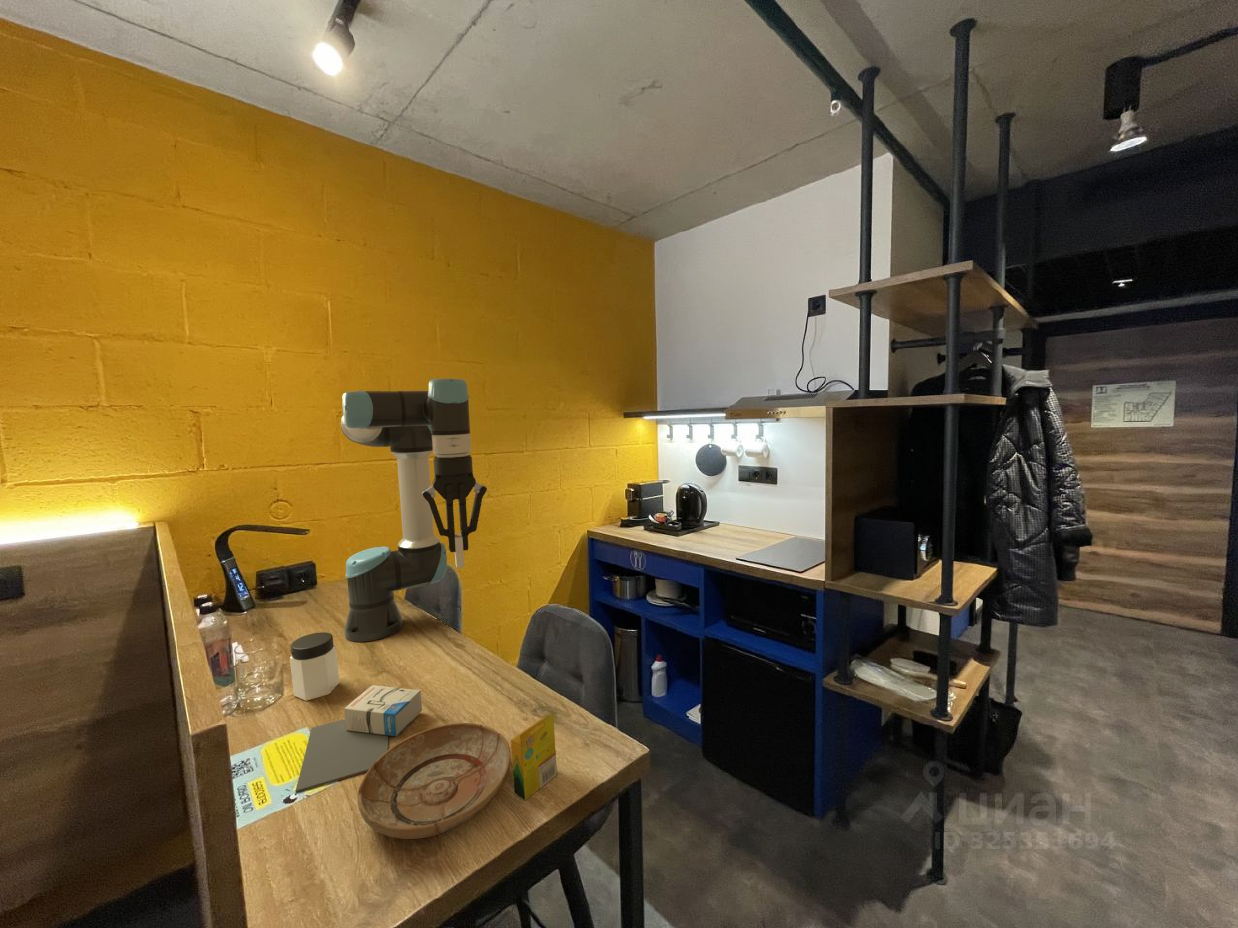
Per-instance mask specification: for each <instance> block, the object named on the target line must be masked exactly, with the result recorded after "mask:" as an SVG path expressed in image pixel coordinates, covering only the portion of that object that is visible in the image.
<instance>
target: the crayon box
mask: <svg viewBox="0 0 1238 928" xmlns="http://www.w3.org/2000/svg"><path fill="white" fill-rule="evenodd" d="M555 737H556V736H555V723H554V713H553V712H552V713H550V714H549V715H547V716H546V717H544V716H543V717H541V718H540V719H538V720H537V721H536V722H534V723H533V724H531V725H530V726H528V727H527V728H526V729H525V730H523V731H520V733H519V734H517V735H516V736H514V737H513V738H512V739H510V745H511V746H510V747H511V748H510V749H511V759H512V760H511V761H512V774H513V775H512V777H513V789H514V794H516V795H517V797H519V798H521V799H522V800H523V801H524V802H526V801H528V799H529V798H530V797H532V796H533V795H535V793H536V792H538V791H539V790H541V789H542V788H543V787H544V786H546V784H548V783H549V782H550V781H551V780H552V779H554V777H556V776H557V775H558V769H557V754H556V753H557V752H556V738H555Z"/></svg>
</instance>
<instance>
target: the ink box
mask: <svg viewBox="0 0 1238 928" xmlns="http://www.w3.org/2000/svg"><path fill="white" fill-rule="evenodd" d="M421 692H422V691H421V690H419V689H411V688H401V687H392V686H385V685H384V686H383V685H375V684H372V685H371V686H369V687H368V688H366V690H364V691H363V693H361V694H359V695H358V696H357V697H356V698H355V699H354V700H353V701H351V702H350V703H349V704H347V706H345V707H344V709H343V710H344V719H345V725H346V730H350V731H358V732H366V733H374V734H383V735H388V736H392V737H397V736H398V735H400V734H401V732H402V731H404V729H406V727H408V725H409V724H410V723H412V721H413V720H415V718H416V717H417V716H418V715H419V714H420V713H421V712H423V707H422V706H423V705H422V693H421Z"/></svg>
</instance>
